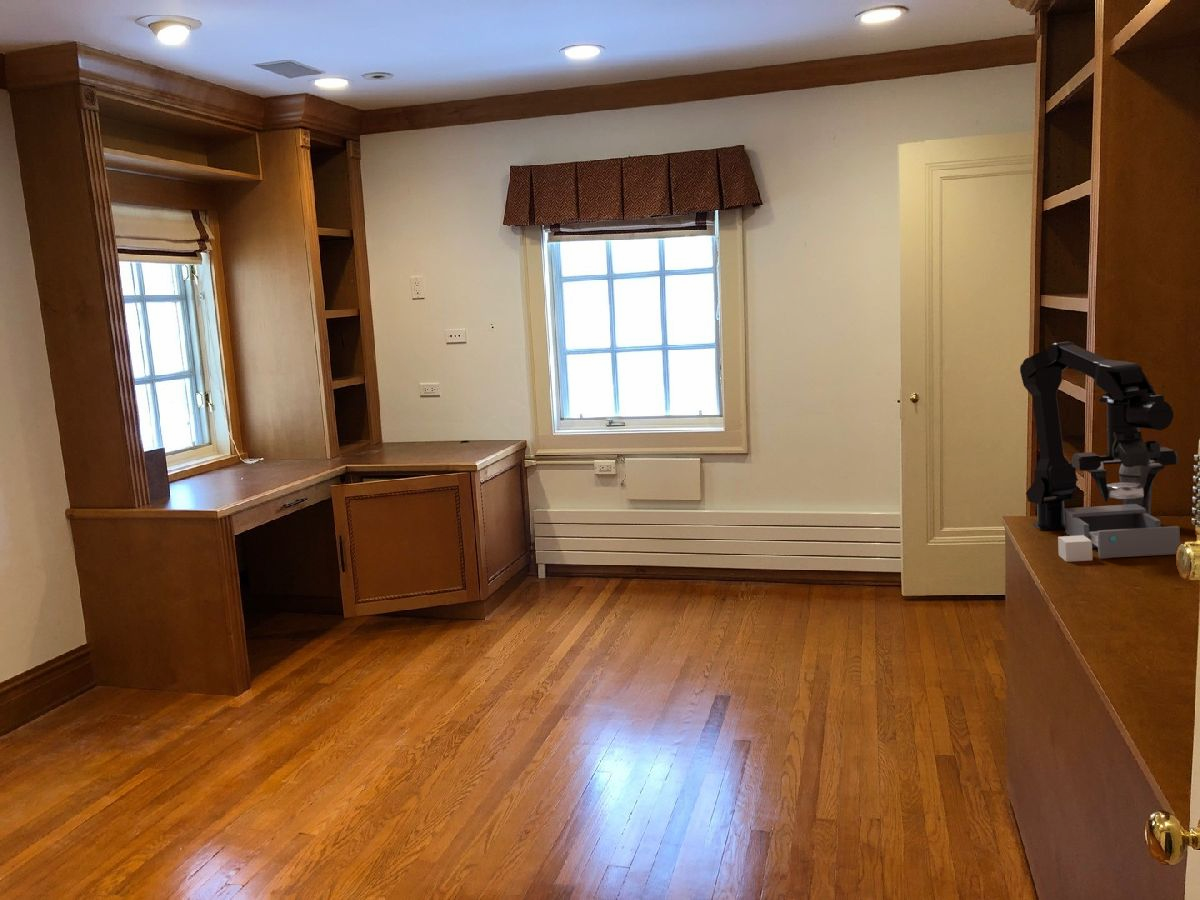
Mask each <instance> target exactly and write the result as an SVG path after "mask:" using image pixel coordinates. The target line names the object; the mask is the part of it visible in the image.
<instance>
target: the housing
mask: <svg viewBox="0 0 1200 900" xmlns="http://www.w3.org/2000/svg"><path fill="white" fill-rule="evenodd" d="M1064 519H1065V529H1064V530H1065V532H1064V534H1065V533H1066V534H1067V535H1066V534H1065V535H1066V536H1068V535H1069V536H1079V535H1084V536H1085V537H1087V538H1088V539H1089V532H1096V531H1099V530H1116V529H1133V528H1150V527H1162V526H1161V520H1160V519H1158V518H1156V516H1153V515H1151V514H1150V515H1149V514H1148V513H1146V509H1145V508H1143V507H1141V506H1139V505H1137V504H1127V505H1124V504H1115V505H1114V504H1113V505H1099V506H1098V505H1097V506H1096V505H1095V506H1084V507H1083V506H1082V507H1081V506H1080V507H1069V508H1068V507H1067V508H1065V507H1064ZM1093 548H1098V547H1097V546H1095V545H1094V544H1093V543H1092V549H1093Z"/></svg>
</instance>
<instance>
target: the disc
mask: <svg viewBox="0 0 1200 900" xmlns="http://www.w3.org/2000/svg"><path fill="white" fill-rule="evenodd" d="M1107 491H1108V499H1109V498H1110V499H1116V500H1123V499H1135V498H1140V497H1143V496H1144V485H1142V484H1138V483H1126V482H1123V483H1121V482H1112V483H1111V482H1110V483H1107Z"/></svg>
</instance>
